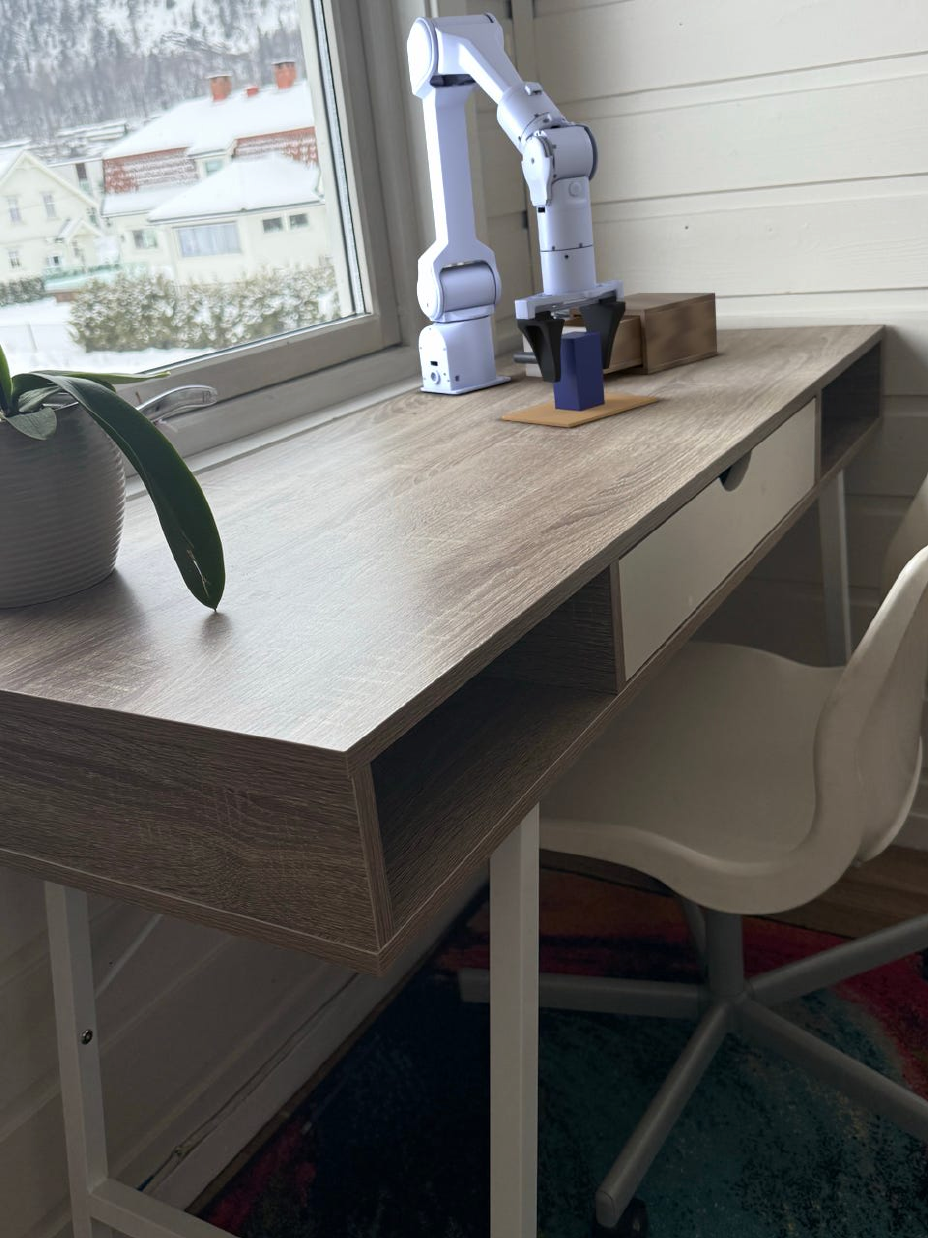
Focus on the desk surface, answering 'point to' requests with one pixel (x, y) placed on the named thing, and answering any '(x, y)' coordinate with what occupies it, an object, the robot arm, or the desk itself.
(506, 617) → the desk surface
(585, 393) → the navy block
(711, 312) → the cabinet
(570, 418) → the cork pad
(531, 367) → the drawer
